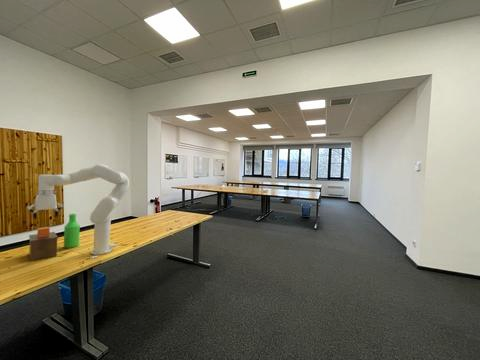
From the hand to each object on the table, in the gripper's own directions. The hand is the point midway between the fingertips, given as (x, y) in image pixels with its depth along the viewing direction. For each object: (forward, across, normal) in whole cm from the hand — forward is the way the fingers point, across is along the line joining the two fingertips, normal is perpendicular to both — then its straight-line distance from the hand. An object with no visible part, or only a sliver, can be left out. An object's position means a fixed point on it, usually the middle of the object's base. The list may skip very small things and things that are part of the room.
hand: (46, 218), depth 131 cm
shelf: (+25, +1, -2) cm, 25 cm away
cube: (+12, +1, -2) cm, 12 cm away
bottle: (+26, -15, -10) cm, 31 cm away
